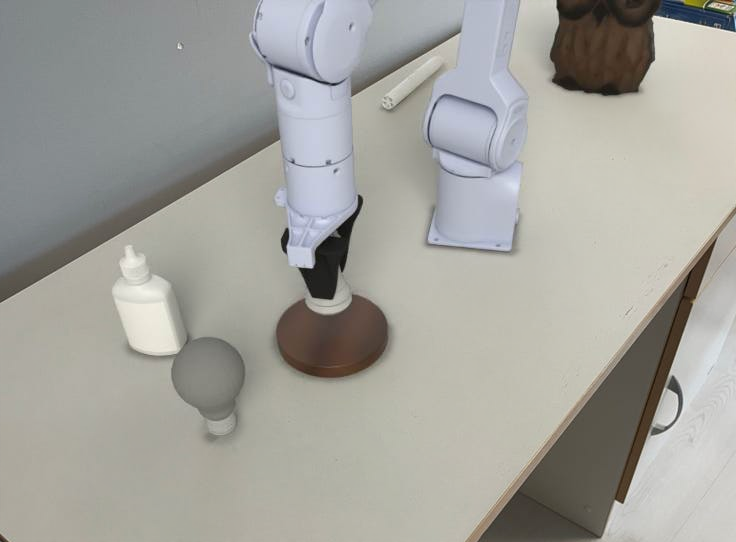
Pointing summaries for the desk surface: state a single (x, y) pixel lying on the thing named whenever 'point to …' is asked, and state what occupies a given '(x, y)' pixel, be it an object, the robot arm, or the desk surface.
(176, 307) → the eye dropper bottle
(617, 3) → the owl
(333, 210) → the robot arm
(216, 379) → the light bulb
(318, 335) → the walnut coaster
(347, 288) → the rook chess piece
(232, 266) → the desk surface
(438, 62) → the cream white rod
